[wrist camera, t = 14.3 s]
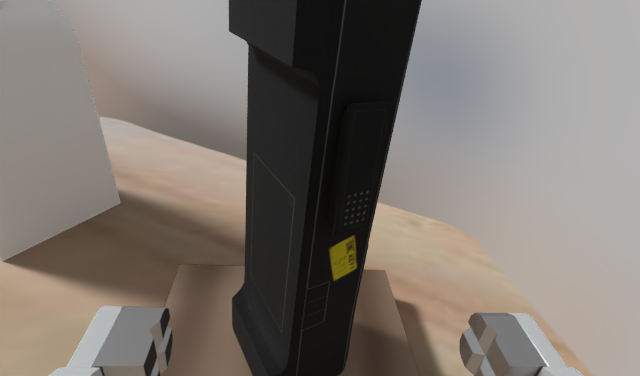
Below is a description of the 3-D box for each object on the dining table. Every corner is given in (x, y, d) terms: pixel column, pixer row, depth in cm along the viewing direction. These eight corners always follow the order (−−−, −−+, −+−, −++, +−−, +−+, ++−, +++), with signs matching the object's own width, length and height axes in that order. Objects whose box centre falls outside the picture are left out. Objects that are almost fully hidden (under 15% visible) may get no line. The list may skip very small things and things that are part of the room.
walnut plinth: (378, 293, 35) (384, 270, 33) (437, 503, 21) (453, 480, 20) (182, 289, 33) (179, 263, 31) (107, 521, 19) (96, 496, 17)
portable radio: (360, 383, 24) (500, -97, 11) (275, 428, 21) (334, -152, 8) (303, 298, 29) (354, -86, 17) (230, 324, 26) (224, -116, 14)
